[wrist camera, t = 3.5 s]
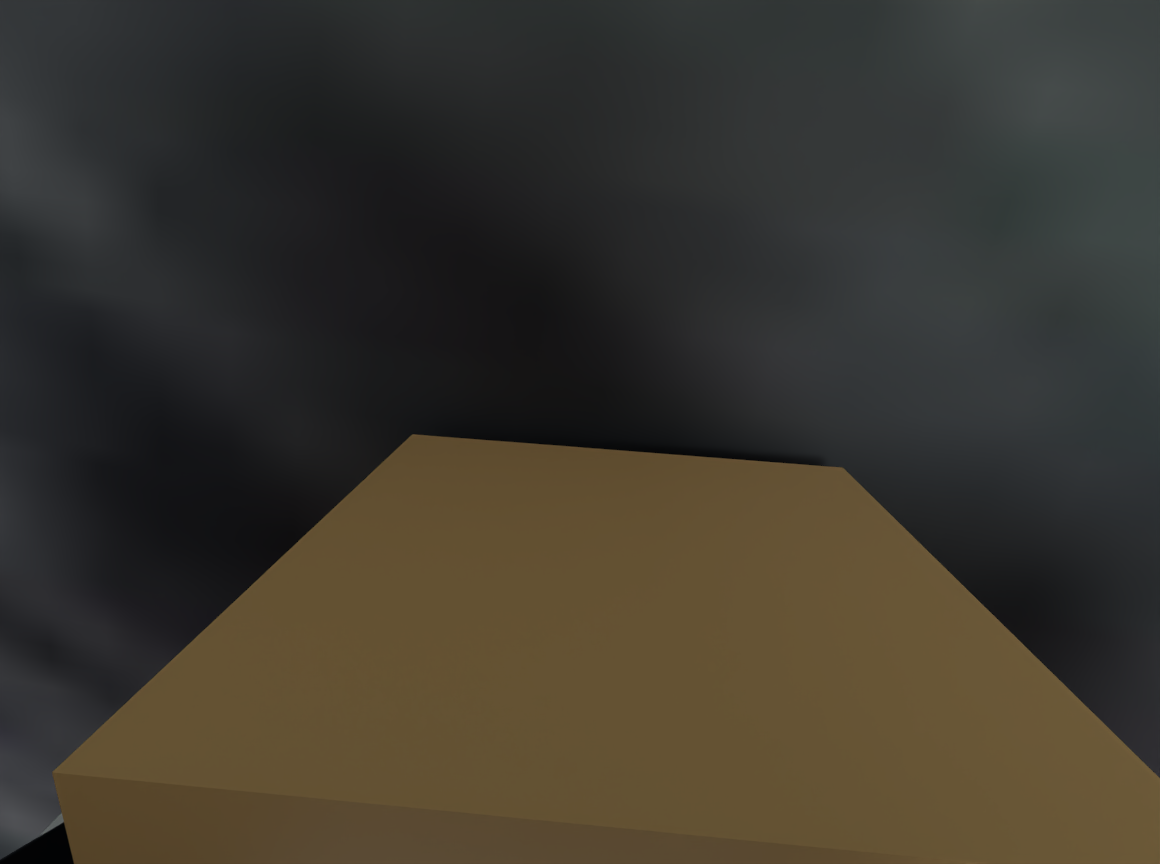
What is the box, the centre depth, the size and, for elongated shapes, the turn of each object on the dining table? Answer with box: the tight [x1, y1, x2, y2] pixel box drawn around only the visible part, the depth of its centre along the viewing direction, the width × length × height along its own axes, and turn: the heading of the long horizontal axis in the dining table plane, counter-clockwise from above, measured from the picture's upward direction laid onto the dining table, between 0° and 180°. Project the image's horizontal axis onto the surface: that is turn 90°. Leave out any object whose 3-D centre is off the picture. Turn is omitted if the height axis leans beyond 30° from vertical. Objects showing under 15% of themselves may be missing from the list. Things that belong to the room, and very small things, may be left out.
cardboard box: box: [52, 434, 1160, 864], centre depth 7 cm, size 6×6×6 cm
